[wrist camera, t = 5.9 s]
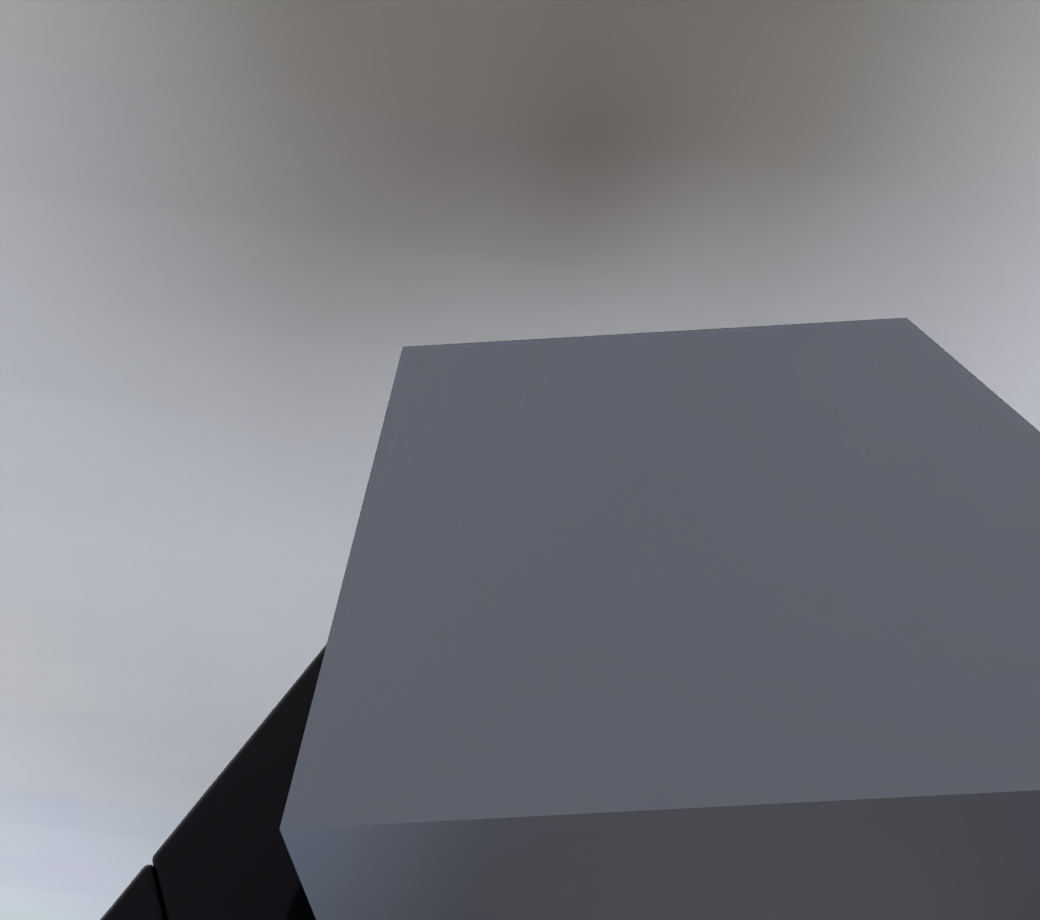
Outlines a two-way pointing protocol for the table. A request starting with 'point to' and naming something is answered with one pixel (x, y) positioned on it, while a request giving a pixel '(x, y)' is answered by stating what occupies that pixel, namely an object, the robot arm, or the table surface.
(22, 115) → the table surface
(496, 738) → the slate blue block
